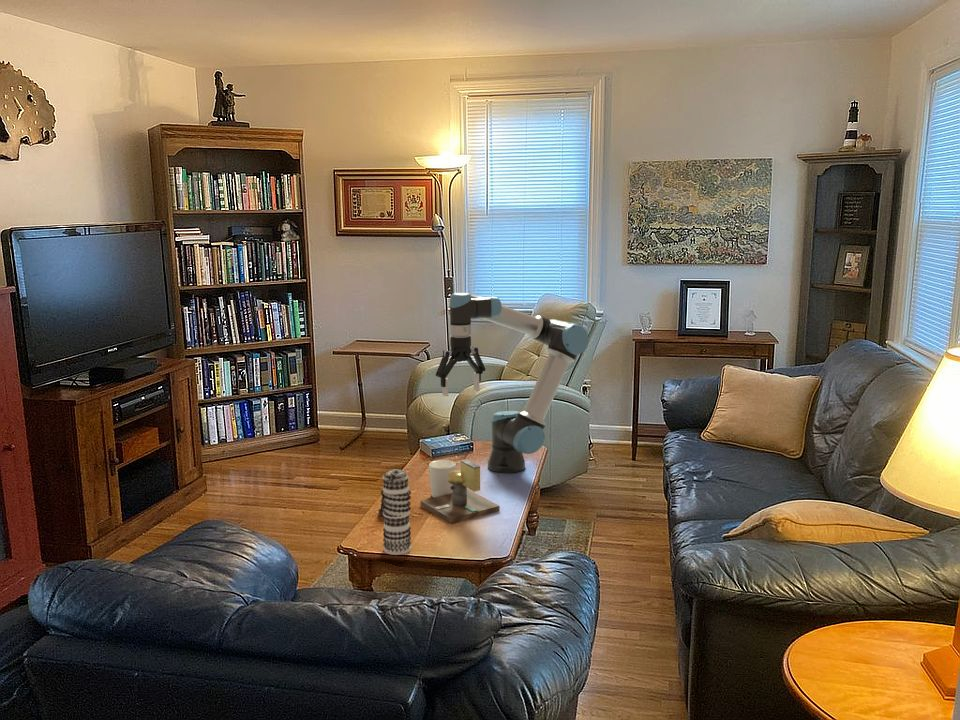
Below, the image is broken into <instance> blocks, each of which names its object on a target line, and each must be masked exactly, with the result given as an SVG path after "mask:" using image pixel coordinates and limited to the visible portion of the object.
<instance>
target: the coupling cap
mask: <svg viewBox="0 0 960 720" xmlns="http://www.w3.org/2000/svg"><path fill="white" fill-rule="evenodd" d="M448 482H449V483H451V484H456V485H464V486H465V487H467V489H468V490H470V491H472V492H474V493H476V492H479V491H481V466H480V465H478V464H476V463H474V462H473V461H471V460H469V459H462V460H461V459H460V469H455V471H451V472H449V473H448Z"/></svg>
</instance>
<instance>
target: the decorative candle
mask: <svg viewBox="0 0 960 720" xmlns="http://www.w3.org/2000/svg"><path fill="white" fill-rule="evenodd" d="M409 477H410V475H409V474H408V473H406V472H405V470H403V469H397V468H396V469H395V468H394V469H389V470H387V471H386V472H385V473H384V474H383V475H381V478H382V479H383V480H382V483H383V485H382V489H381V491H380V495H381V500H380V502H381V501H382V503H381V504H382V507H383V508H382V509H383V510H382V512H383V516H384V517H383V518H384V519H383V520H384V522H383V529H382V532H383V534H382V536H383V539H382V541H383V544H382V545H383V552H385V554H388V555H393V556H394V555H395V556H397V555H399V556H400V555H405V554H407V553H409V552H410V551H411V550H412V547H411V544H412V542H411V540H412V537H411V533H412V532H411V525H410V516H409V515H410V514H411V507H410V506H411V504H412V503H411V501H409V500H411V498H412V496H411V494H412V491H411V490H410V487H409Z"/></svg>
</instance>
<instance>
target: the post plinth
mask: <svg viewBox="0 0 960 720" xmlns="http://www.w3.org/2000/svg"><path fill="white" fill-rule="evenodd" d="M450 488H451V490H452V493H451V494H446V495H442V496H438V497H434V498H433V497H431V498H427V499H422V500H420V507H421V508H424V509H425V510H426V511H428V512H430V513H431V514H433V515H435V516H437V517H438V518H440V519H441V520H444V521H445V522H446V523H448V524H450V525H453V524H457V523H461V522H464V521H468V520H473V519H476V518H479V517H483V516H487V515H491V514H494V513H498V512H500V510H501V509H500V508H501V507H500V505H499V504H498V503H495V502H493V501H492V500H489V499H487V498H485V497H483V496H482V495H480V494H478V493H476V492H474V491H472V490H470V489H469V488H467V487H465V486H464V485H456V484H452V486H451V487H450Z"/></svg>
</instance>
